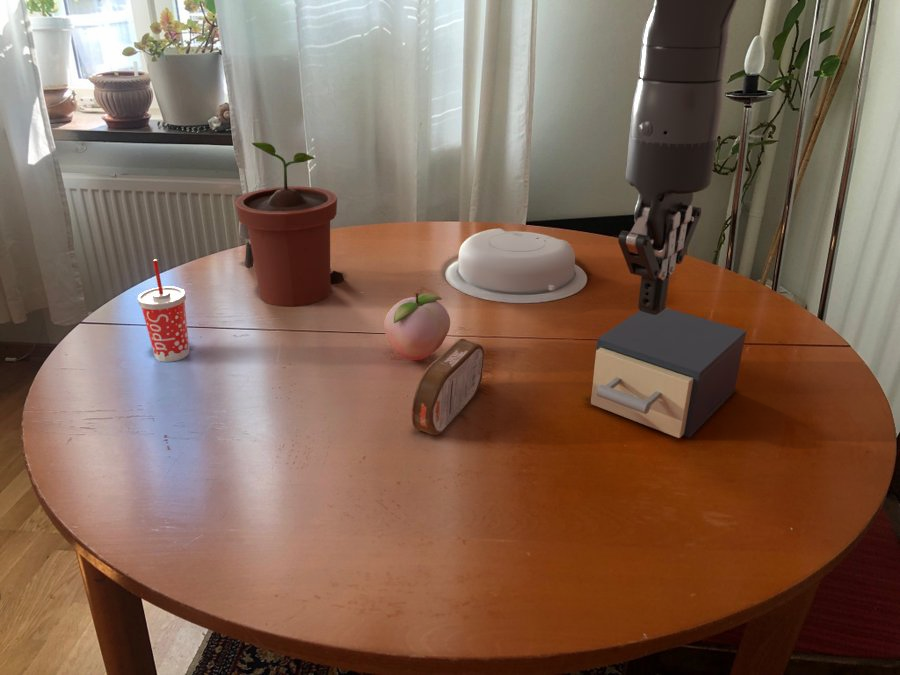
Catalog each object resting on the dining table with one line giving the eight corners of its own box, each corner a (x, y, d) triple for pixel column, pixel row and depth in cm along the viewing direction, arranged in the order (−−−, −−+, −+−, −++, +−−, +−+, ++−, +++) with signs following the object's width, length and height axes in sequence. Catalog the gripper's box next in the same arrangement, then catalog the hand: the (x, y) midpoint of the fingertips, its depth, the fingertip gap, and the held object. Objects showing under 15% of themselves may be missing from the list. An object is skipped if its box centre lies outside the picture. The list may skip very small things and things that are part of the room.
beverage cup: (139, 358, 102) (119, 263, 96) (171, 341, 107) (155, 249, 101) (172, 368, 100) (154, 271, 94) (204, 349, 105) (189, 256, 99)
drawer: (663, 455, 81) (672, 397, 78) (572, 418, 88) (577, 363, 84) (722, 395, 92) (733, 342, 89) (638, 366, 99) (645, 316, 96)
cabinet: (687, 443, 85) (700, 372, 81) (590, 405, 92) (597, 338, 88) (733, 396, 94) (746, 330, 90) (641, 365, 101) (650, 303, 97)
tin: (465, 385, 96) (466, 326, 93) (487, 390, 95) (489, 331, 91) (409, 444, 84) (407, 379, 80) (434, 451, 83) (433, 385, 79)
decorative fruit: (409, 339, 108) (407, 275, 104) (458, 352, 104) (459, 287, 100) (372, 366, 101) (368, 298, 96) (423, 381, 97) (422, 311, 93)
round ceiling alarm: (415, 277, 130) (415, 244, 127) (501, 242, 147) (502, 212, 144) (533, 316, 115) (535, 279, 113) (613, 272, 133) (617, 239, 130)
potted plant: (231, 315, 116) (208, 153, 104) (245, 265, 135) (227, 125, 124) (345, 309, 118) (335, 150, 107) (343, 261, 137) (335, 123, 126)
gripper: (681, 150, 59) (656, 345, 66) (743, 125, 68) (715, 299, 75) (597, 138, 63) (583, 322, 71) (666, 116, 72) (647, 282, 80)
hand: (651, 310), depth 73 cm, fingers closed
